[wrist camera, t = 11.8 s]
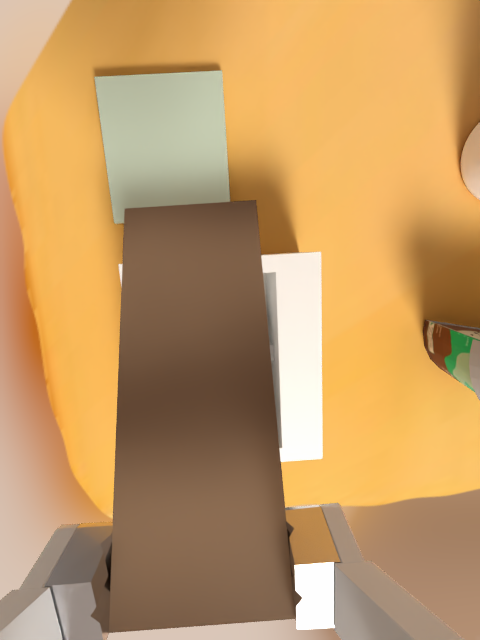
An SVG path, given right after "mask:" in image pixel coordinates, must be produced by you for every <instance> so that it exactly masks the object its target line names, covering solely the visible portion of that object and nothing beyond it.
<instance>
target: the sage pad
mask: <svg viewBox="0 0 480 640" xmlns="http://www.w3.org/2000/svg"><path fill="white" fill-rule="evenodd" d="M94 78H95V86H96V93H97V101H98V108H99V115H100V123H101V130H102V137H103V145H104V152H105V159H106V167H107V174H108V181H109V189H110V196H111V203H112V211H113V218H114V223H116V224H124V212H125V209H126V208H141V207H157V206H173V205H188V204H204V203H219V202H230V190H229V174H228V158H227V142H226V126H225V110H224V95H223V79H222V71H202V72H182V73H162V74H142V75H122V76H101V77H94Z"/></svg>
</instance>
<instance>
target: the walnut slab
mask: <svg viewBox="0 0 480 640" xmlns="http://www.w3.org/2000/svg"><path fill="white" fill-rule="evenodd" d="M285 518H286V513H285V502H284V492H283V481H282V470H281V460H280V449H279V439H278V428H277V417H276V407H275V396H274V386H273V375H272V364H271V354H270V343H269V333H268V322H267V311H266V301H265V290H264V280H263V269H262V258H261V248H260V237H259V227H258V216H257V205H256V200H251V201H235V202H219V203H204V204H188V205H173V206H157V207H141V208H126V209H125V212H124V238H123V265H122V291H121V318H120V344H119V371H118V397H117V424H116V450H115V477H114V503H113V530H112V556H111V583H110V593H111V594H110V618H109V633H113V632H126V631H139V630H152V629H166V628H179V627H192V626H205V625H218V624H231V623H245V622H257V621H271V620H285V619H295V612H294V603H293V593H292V583H291V578H292V576H291V566H290V555H289V545H288V534H287V527H286V520H285Z"/></svg>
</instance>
